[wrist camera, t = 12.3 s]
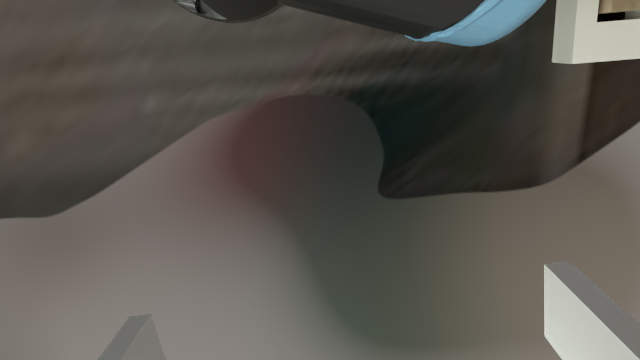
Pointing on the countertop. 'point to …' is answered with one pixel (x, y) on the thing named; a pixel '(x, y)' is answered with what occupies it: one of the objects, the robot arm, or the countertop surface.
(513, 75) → the countertop surface
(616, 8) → the clip
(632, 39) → the white flat block
